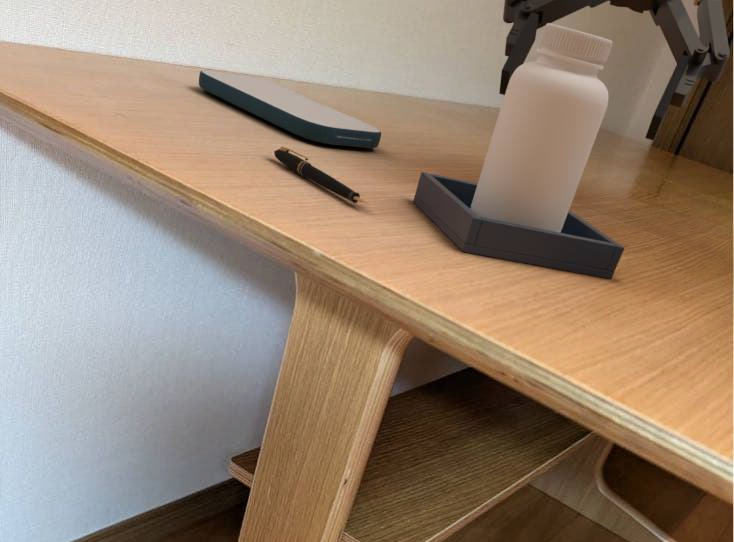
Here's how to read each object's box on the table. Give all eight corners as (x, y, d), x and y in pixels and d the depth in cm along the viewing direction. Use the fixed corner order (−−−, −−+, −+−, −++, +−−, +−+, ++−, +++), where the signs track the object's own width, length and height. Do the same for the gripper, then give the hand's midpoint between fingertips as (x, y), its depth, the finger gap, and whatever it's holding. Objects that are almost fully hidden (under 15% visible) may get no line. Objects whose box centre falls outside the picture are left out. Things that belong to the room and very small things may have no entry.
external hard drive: (186, 85, 96) (188, 66, 95) (264, 96, 103) (267, 78, 102) (310, 147, 83) (315, 125, 82) (389, 154, 91) (394, 134, 89)
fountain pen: (371, 213, 66) (376, 194, 66) (360, 212, 66) (365, 193, 65) (278, 159, 75) (281, 141, 74) (267, 158, 74) (270, 140, 73)
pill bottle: (508, 217, 75) (573, 29, 66) (573, 249, 70) (652, 51, 62) (447, 213, 70) (508, 10, 62) (512, 247, 66) (588, 33, 57)
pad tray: (544, 227, 78) (554, 199, 76) (611, 279, 67) (625, 247, 66) (412, 201, 74) (421, 171, 72) (462, 251, 63) (473, 217, 62)
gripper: (786, -8, 76) (704, 177, 72) (532, -73, 81) (444, 97, 78) (824, -87, 69) (735, 114, 65) (543, -153, 74) (446, 30, 70)
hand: (577, 105), depth 71 cm, fingers open, 13 cm apart
